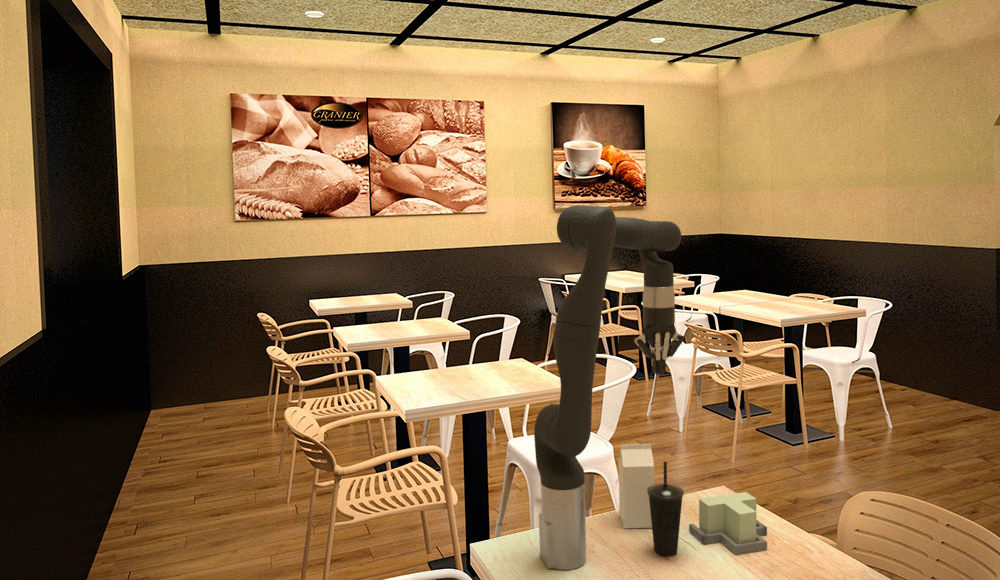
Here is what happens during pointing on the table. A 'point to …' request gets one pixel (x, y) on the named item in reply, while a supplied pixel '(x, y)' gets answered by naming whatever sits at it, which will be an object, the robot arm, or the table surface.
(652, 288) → the robot arm
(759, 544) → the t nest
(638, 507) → the milk carton
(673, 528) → the drinking cup
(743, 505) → the t block
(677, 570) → the table surface
